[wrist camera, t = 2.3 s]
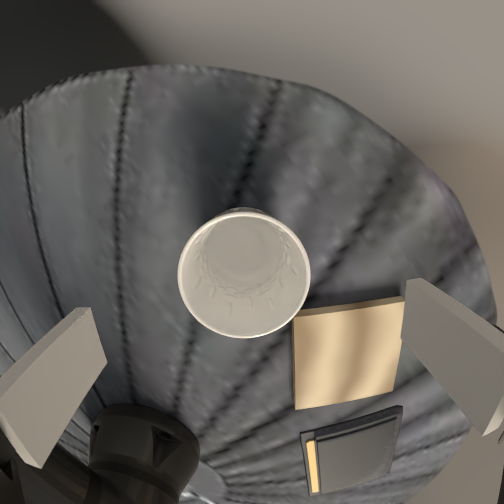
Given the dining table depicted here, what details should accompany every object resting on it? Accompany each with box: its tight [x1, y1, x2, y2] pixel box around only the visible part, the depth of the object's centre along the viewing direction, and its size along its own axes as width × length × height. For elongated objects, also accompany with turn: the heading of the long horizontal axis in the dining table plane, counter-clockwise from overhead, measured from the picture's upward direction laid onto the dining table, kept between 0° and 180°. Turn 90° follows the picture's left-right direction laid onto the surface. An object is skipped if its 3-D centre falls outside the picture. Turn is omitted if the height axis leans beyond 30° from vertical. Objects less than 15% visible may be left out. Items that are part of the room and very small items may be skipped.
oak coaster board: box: [292, 296, 405, 410], centre depth 30 cm, size 12×12×2 cm
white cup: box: [178, 207, 310, 338], centre depth 23 cm, size 8×8×10 cm
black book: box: [300, 405, 403, 496], centre depth 35 cm, size 20×2×15 cm
